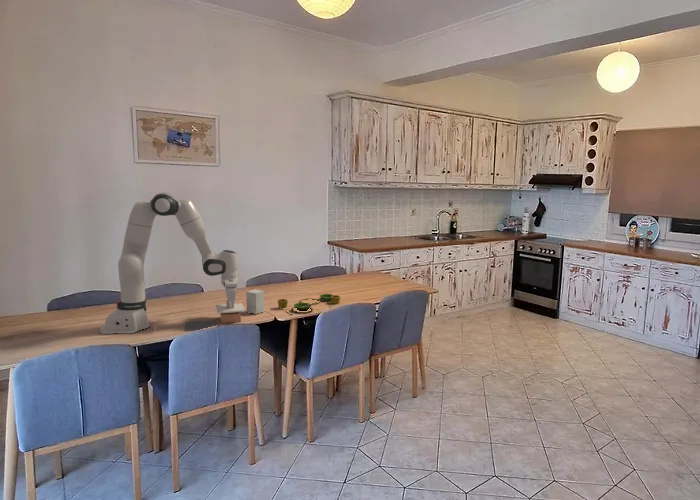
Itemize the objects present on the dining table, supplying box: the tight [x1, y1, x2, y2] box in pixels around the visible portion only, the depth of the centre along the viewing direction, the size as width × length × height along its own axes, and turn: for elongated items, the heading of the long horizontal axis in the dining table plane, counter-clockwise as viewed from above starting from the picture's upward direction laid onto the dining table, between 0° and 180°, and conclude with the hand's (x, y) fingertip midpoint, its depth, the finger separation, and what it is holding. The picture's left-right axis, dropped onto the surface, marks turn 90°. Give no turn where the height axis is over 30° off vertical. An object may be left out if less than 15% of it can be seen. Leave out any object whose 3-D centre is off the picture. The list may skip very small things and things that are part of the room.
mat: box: [184, 319, 219, 332], centre depth 238 cm, size 16×16×1 cm
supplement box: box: [245, 288, 265, 315], centre depth 264 cm, size 7×7×13 cm
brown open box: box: [219, 312, 242, 324], centre depth 248 cm, size 10×10×5 cm
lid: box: [215, 300, 246, 314], centre depth 247 cm, size 14×14×4 cm
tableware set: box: [277, 293, 343, 314], centre depth 282 cm, size 41×28×6 cm
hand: (230, 305), depth 247 cm, fingers closed on lid, 3 cm apart
